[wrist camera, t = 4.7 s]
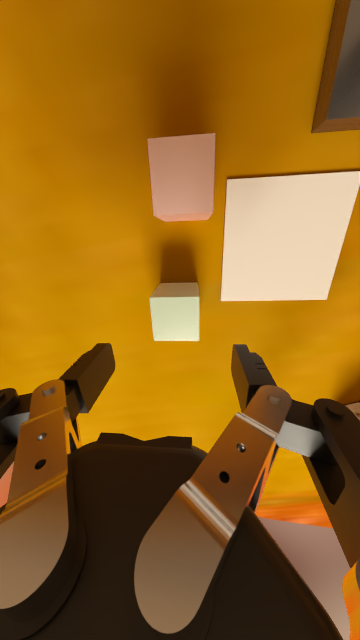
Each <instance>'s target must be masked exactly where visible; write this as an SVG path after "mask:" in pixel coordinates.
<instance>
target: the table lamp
mask: <svg viewBox="0 0 360 640" xmlns="http://www.w3.org/2000/svg"><path fill="white" fill-rule="evenodd" d="M358 129H360V0H336V3H335V8H334V14H333V19H332V24H331V30H330V35H329V41H328V46H327V51H326V57H325V62H324V67H323V73H322V78H321V83H320V89H319V94H318V100H317V105H316V110H315V116H314V121H313V126H312V132H311V133H320V132H332V131H345V130H358Z"/></svg>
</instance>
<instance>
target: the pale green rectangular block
mask: <svg viewBox="0 0 360 640" xmlns="http://www.w3.org/2000/svg"><path fill="white" fill-rule="evenodd" d="M150 308H151V317H152V327H153V336H154V341H199V289H198V282H189V283H160V284H159V285H158V287H157V288H156V289H155V291H154V292H153V293H152V295H151V296H150Z"/></svg>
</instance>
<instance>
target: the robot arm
mask: <svg viewBox="0 0 360 640" xmlns="http://www.w3.org/2000/svg"><path fill="white" fill-rule="evenodd" d="M114 370H115V360H114V355H113V351H112V346H111V344H110V343H98V344H96V345H95V347H94V348H93V349H92V350H91V351H88V352H86V353H85V354H83V355H82V356H81V357H80V358H79V359H78V360H77V361H76V362H75V363H74V364H73V366H71V367H70V368H69V369H68V370H67V371H66V372H65V373H64V374H63V375H62V376H61V377H60V378H59V379H58V380H51V381H48V382H45V383H43V384H42V385H40V386H38V387H37V388H36V389H35V390H34V391H33V393H29V394H24V395H19V396H18V394H17V392H16V390H15V389H13V388H7V389H2V390H0V478H1V477H2V476H3V475H4V473H5V472H6V470H7V469H8V468H9V467H10V465H11V464H12V463H13V462H14V466H13V472H12V478H11V483H10V489H9V495H8V501H7V503H6V504H5V505H3V506H2V507H1V508H0V640H343V638H342V637H341V635H340V633H339V631H338V629H337V628H336V626H335V624H334V623H333V621H332V619H331V618H330V616H329V615H328V613H327V612H326V610H325V609H324V607H323V606H322V605H321V603H320V602H319V600H318V599H317V598H316V596H315V595H314V594H313V592H312V591H311V590H310V588H309V587H308V585H307V584H306V583H305V581H304V580H303V579H302V577H301V576H300V575H299V573H298V572H297V570H296V569H295V568H294V567H293V565H292V564H291V562H290V561H289V560H288V558H287V557H286V555H285V554H284V553H283V552H282V550H281V549H280V547H279V546H278V544H277V543H276V542H275V540H274V539H273V538H272V536H271V535H270V534H269V532H268V531H267V529H266V528H265V527H264V526H263V524H262V523H261V521H260V520H259V519H258V517H257V516H256V514H255V512H256V509H257V507H258V504H259V502H260V499H261V496H262V493H263V490H264V487H265V484H266V481H267V478H268V476H269V473H270V471H271V468H272V466H273V463H274V461H275V458H276V455H277V453H278V450H279V448H280V447H282V448H285V449H288V450H290V451H293V452H296V453H299V454H302V456H303V459H304V461H305V463H306V466H307V468H308V470H309V473H310V475H311V477H312V480H313V482H314V484H315V487H316V489H317V491H318V494H319V496H320V498H321V501H322V503H323V505H324V508H325V510H326V512H327V515H328V517H329V519H330V522H331V524H332V526H333V529H334V531H335V533H336V535H337V538H338V540H339V543H340V545H341V547H342V550H343V552H344V554H345V556H346V559H347V561H348V564H349V566H350V568H351V569H350V570H349V572H348V573H347V574H346V575H345V576H344V579H343V584H342V590H343V591H342V592H343V598H344V602H345V605H346V609H347V613H348V616H349V622H350V640H360V420H359V419H358V418H357V417H356V415H355V414H354V413H353V412H352V411H351V410H350V409H349V408H347V407H346V406H344V405H343V404H341V403H339V402H337V401H334V400H331V399H323V398H322V399H318V400H316V401H315V402H314V405H309V404H306V403H302V402H298V401H295V400H293V399H291V397H290V395H289V394H288V393H287V392H286V391H285V390H283V389H282V388H279V387H277V385H276V383H275V381H274V380H273V378H272V376H271V374H270V372H269V370H268V369H267V367H266V365H265V363H264V361H263V359H262V358H261V357H260V356H259V355H258V354H256V353H250V352H249V350H248V347H247V345H243V344H234V345H233V351H232V363H231V371H232V377H233V381H234V384H235V388H236V392H237V396H238V400H239V403H240V407H241V411H242V414H240V413H237V414H236V415H235V416H234V417H233V419H232V420H231V421H230V423H229V424H228V426H227V427H226V429H225V430H224V431H223V433H222V434H221V436H220V437H219V438H218V440H217V441H216V443H215V444H214V446H213V447H212V448H211V450H210V451H209V453H206V452H205V451H203V450H201V449H199V448H197V447H195V446H192V437H176V436H167V437H162V438H157V439H152V440H147V441H142V440H139V439H136V438H133V437H131V436H128V435H125V434H118V433H101V434H100V436H99V438H98V440H97V441H95V442H92V443H89V444H86V445H84V446H82V445H81V438H80V431H79V424H78V419H77V415H78V414H79V413H89V411H90V409H91V408H92V406H93V404H94V403H95V401H96V400H97V398H98V396H99V395H100V393H101V392H102V390H103V388H104V387H105V385H106V384H107V382H108V380H109V379H110V377H111V376H112V374H113V372H114Z"/></svg>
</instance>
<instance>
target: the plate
mask: <svg viewBox="0 0 360 640" xmlns="http://www.w3.org/2000/svg"><path fill="white" fill-rule="evenodd" d="M359 185H360V171H355V172H339V173H323V174H307V175H292V176H276V177H260V178H244V179H228V180H227V187H226V206H225V225H224V244H223V263H222V282H221V301H263V300H326V299H327V296H328V292H329V289H330V285H331V282H332V278H333V275H334V272H335V268H336V265H337V261H338V258H339V254H340V251H341V247H342V244H343V240H344V237H345V234H346V230H347V227H348V223H349V220H350V216H351V213H352V209H353V206H354V203H355V199H356V196H357V192H358V189H359Z"/></svg>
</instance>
